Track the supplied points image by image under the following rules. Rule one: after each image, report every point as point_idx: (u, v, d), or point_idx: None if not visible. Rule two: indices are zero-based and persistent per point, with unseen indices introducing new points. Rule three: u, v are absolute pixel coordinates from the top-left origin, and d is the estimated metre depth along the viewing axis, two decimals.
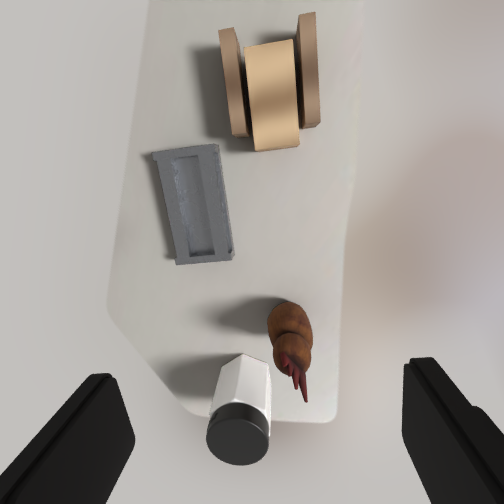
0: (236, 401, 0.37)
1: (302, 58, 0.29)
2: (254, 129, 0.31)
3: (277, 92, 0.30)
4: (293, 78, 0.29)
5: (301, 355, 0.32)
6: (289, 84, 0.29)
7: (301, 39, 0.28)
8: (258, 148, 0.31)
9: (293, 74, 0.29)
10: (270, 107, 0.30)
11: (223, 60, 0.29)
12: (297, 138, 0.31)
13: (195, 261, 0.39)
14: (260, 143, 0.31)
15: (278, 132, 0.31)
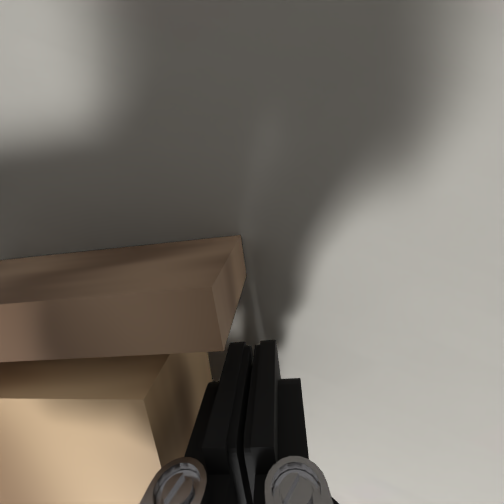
0: None
1: None
2: None
3: (16, 481, 0.08)
4: None
5: None
6: None
7: None
8: None
9: None
10: None
11: (95, 301, 0.06)
12: None
13: None
14: None
15: None
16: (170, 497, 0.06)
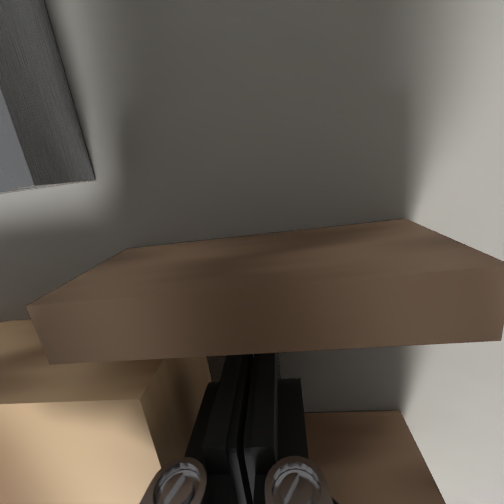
0: None
1: None
2: None
3: (19, 488, 0.08)
4: None
5: None
6: None
7: None
8: None
9: None
10: None
11: (357, 284, 0.05)
12: None
13: None
14: None
15: None
16: (170, 497, 0.06)
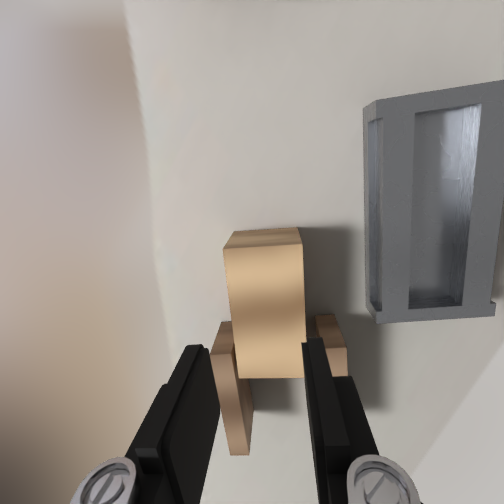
0: None
1: (241, 419, 0.22)
2: (300, 276, 0.18)
3: (260, 323, 0.19)
4: (236, 337, 0.20)
5: None
6: (241, 330, 0.19)
7: (244, 436, 0.23)
8: (295, 246, 0.17)
9: (236, 341, 0.20)
10: (271, 305, 0.19)
11: None
12: (226, 258, 0.18)
13: (469, 90, 0.16)
14: (291, 254, 0.17)
15: (259, 269, 0.18)
16: (99, 497, 0.06)
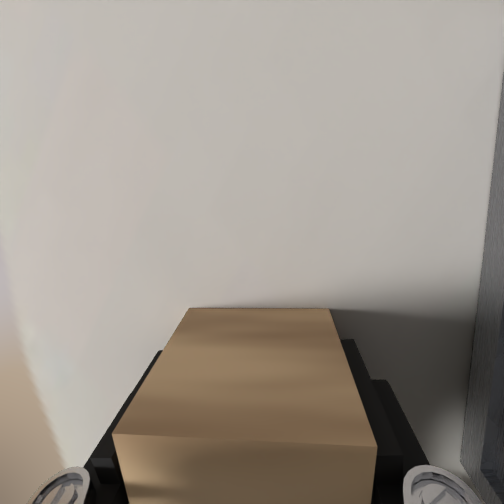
0: None
1: None
2: None
3: None
4: None
5: None
6: None
7: None
8: (353, 451, 0.05)
9: None
10: None
11: None
12: (126, 458, 0.06)
13: None
14: (335, 469, 0.05)
15: (228, 495, 0.06)
16: None
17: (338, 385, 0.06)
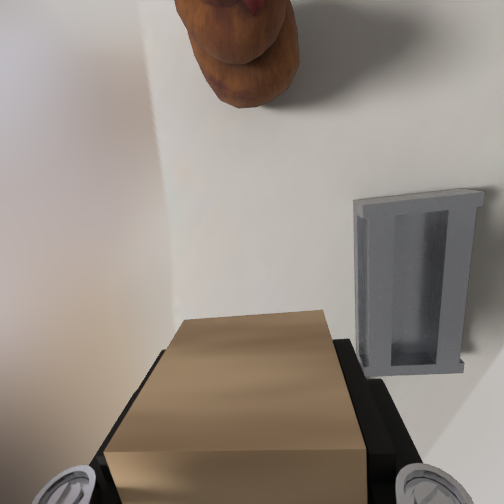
0: None
1: None
2: None
3: None
4: None
5: (198, 6, 0.10)
6: None
7: None
8: (342, 455, 0.05)
9: None
10: None
11: None
12: (120, 476, 0.06)
13: (439, 200, 0.19)
14: (326, 474, 0.05)
15: None
16: None
17: (329, 388, 0.06)
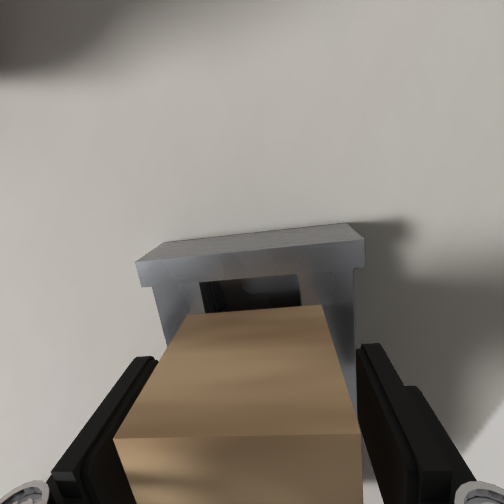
0: None
1: None
2: None
3: None
4: None
5: None
6: None
7: None
8: (339, 439, 0.05)
9: None
10: None
11: None
12: (129, 461, 0.06)
13: (276, 255, 0.10)
14: (323, 457, 0.05)
15: (228, 490, 0.06)
16: None
17: (327, 378, 0.07)
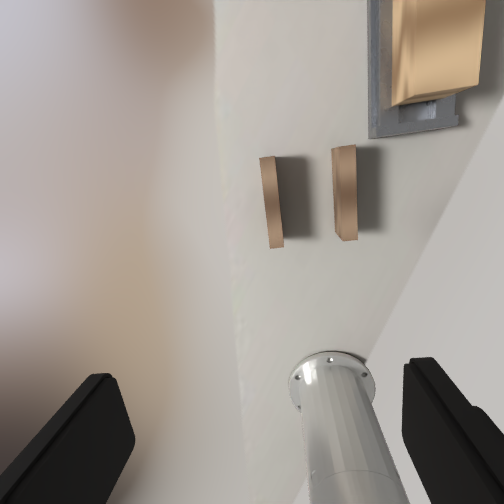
0: None
1: (279, 214, 0.31)
2: None
3: (442, 27, 0.22)
4: (418, 46, 0.23)
5: None
6: (424, 38, 0.23)
7: (281, 229, 0.31)
8: None
9: (417, 52, 0.23)
10: (455, 5, 0.22)
11: (356, 215, 0.30)
12: None
13: None
14: None
15: None
16: None
17: None
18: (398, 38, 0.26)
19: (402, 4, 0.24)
